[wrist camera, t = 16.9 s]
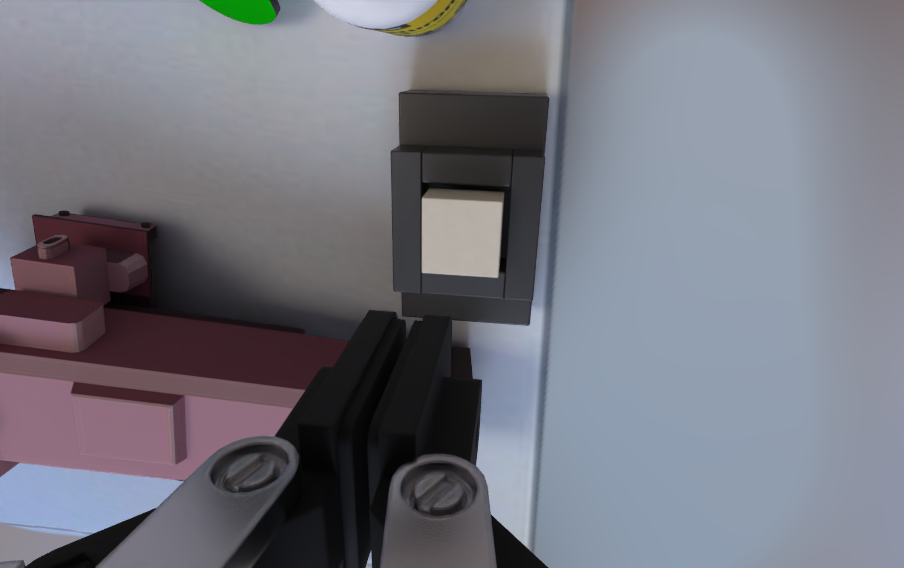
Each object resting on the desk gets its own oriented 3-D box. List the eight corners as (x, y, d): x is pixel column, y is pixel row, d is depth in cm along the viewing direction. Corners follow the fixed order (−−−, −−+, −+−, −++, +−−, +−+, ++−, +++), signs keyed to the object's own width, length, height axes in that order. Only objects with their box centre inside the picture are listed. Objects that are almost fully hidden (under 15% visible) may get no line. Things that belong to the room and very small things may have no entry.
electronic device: (446, 432, 33) (447, 579, 24) (-25, 375, 31) (-223, 513, 22) (478, 267, 29) (495, 370, 20) (-65, 188, 27) (-333, 261, 17)
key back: (499, 263, 22) (498, 278, 21) (428, 258, 23) (421, 273, 21) (504, 191, 21) (502, 201, 20) (428, 187, 22) (421, 197, 20)
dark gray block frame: (529, 306, 27) (530, 345, 23) (410, 298, 27) (392, 334, 24) (547, 93, 23) (551, 99, 19) (409, 89, 24) (388, 94, 20)
